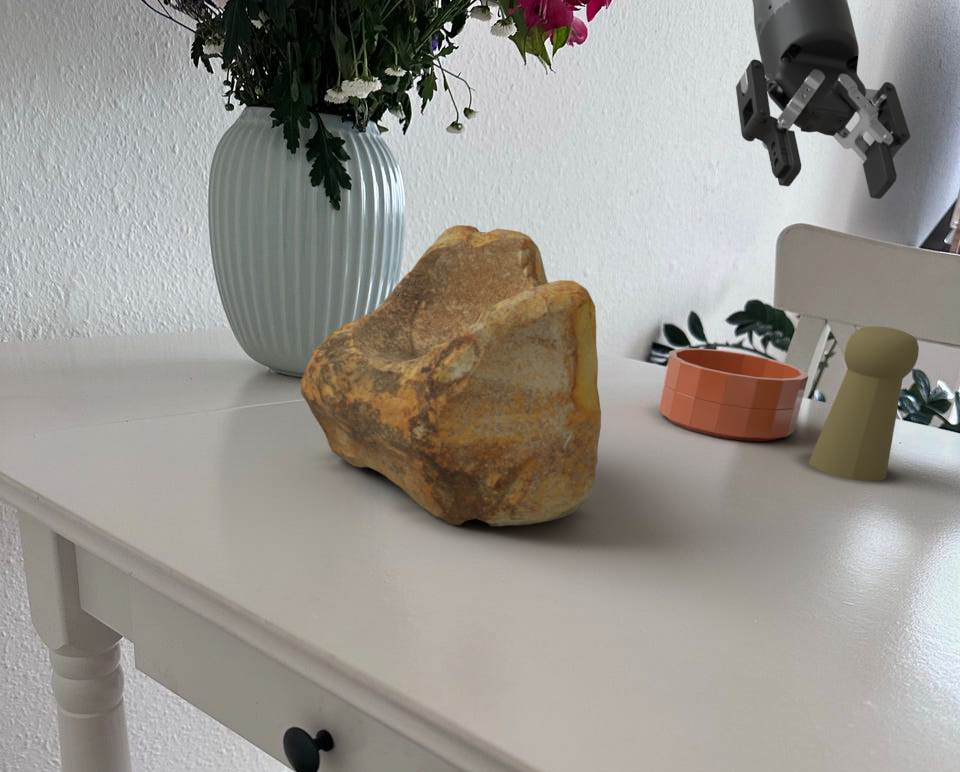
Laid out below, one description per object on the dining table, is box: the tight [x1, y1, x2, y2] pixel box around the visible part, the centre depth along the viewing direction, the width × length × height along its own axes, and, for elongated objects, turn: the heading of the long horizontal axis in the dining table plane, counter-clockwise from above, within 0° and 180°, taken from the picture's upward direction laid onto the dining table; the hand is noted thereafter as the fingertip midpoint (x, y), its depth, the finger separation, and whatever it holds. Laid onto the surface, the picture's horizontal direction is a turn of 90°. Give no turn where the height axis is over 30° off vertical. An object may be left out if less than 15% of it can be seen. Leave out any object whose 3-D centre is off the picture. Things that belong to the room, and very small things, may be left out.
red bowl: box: [658, 347, 809, 442], centre depth 85 cm, size 12×12×6 cm
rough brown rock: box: [300, 224, 602, 527], centre depth 60 cm, size 23×17×15 cm
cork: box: [808, 325, 920, 482], centre depth 74 cm, size 6×6×11 cm
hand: (837, 185), depth 78 cm, fingers open, 8 cm apart
